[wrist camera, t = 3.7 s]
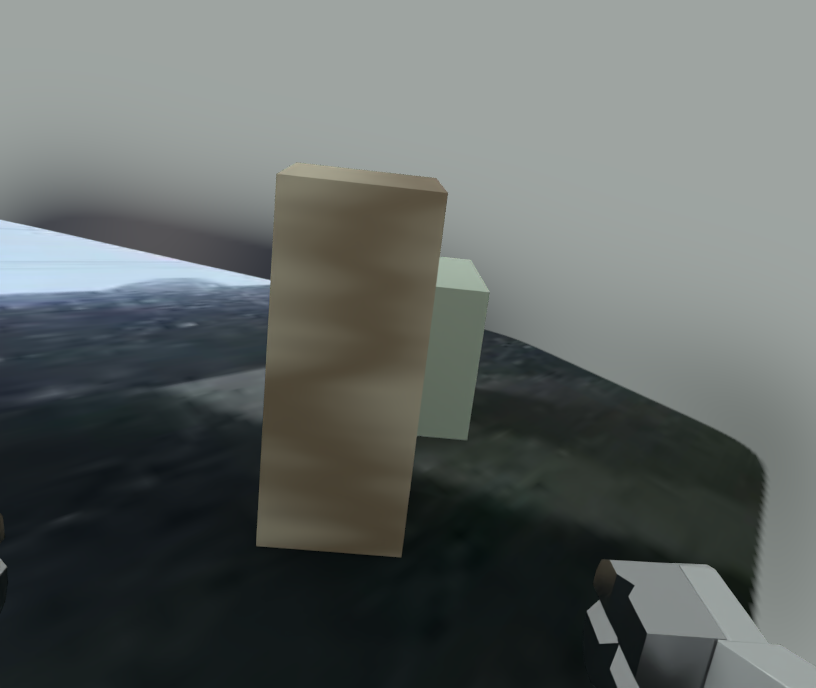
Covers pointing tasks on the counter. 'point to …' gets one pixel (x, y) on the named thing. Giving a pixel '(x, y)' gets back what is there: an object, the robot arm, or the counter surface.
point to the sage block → (453, 350)
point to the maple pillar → (346, 356)
